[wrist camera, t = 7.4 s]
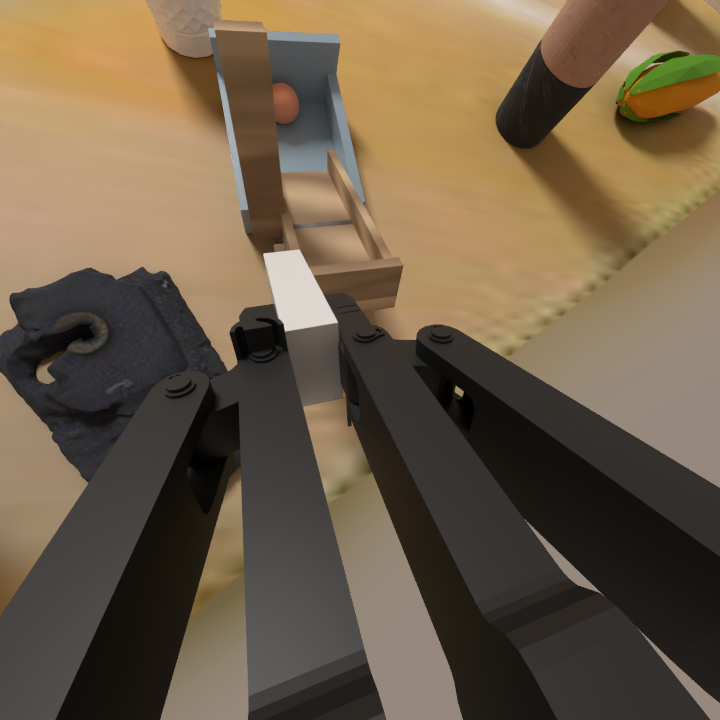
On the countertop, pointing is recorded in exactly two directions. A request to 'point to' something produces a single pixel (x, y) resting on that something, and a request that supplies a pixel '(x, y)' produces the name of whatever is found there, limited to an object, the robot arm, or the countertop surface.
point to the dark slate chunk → (101, 355)
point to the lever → (300, 184)
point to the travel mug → (570, 64)
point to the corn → (668, 85)
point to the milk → (714, 4)
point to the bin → (301, 108)
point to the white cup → (186, 24)
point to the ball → (285, 103)
